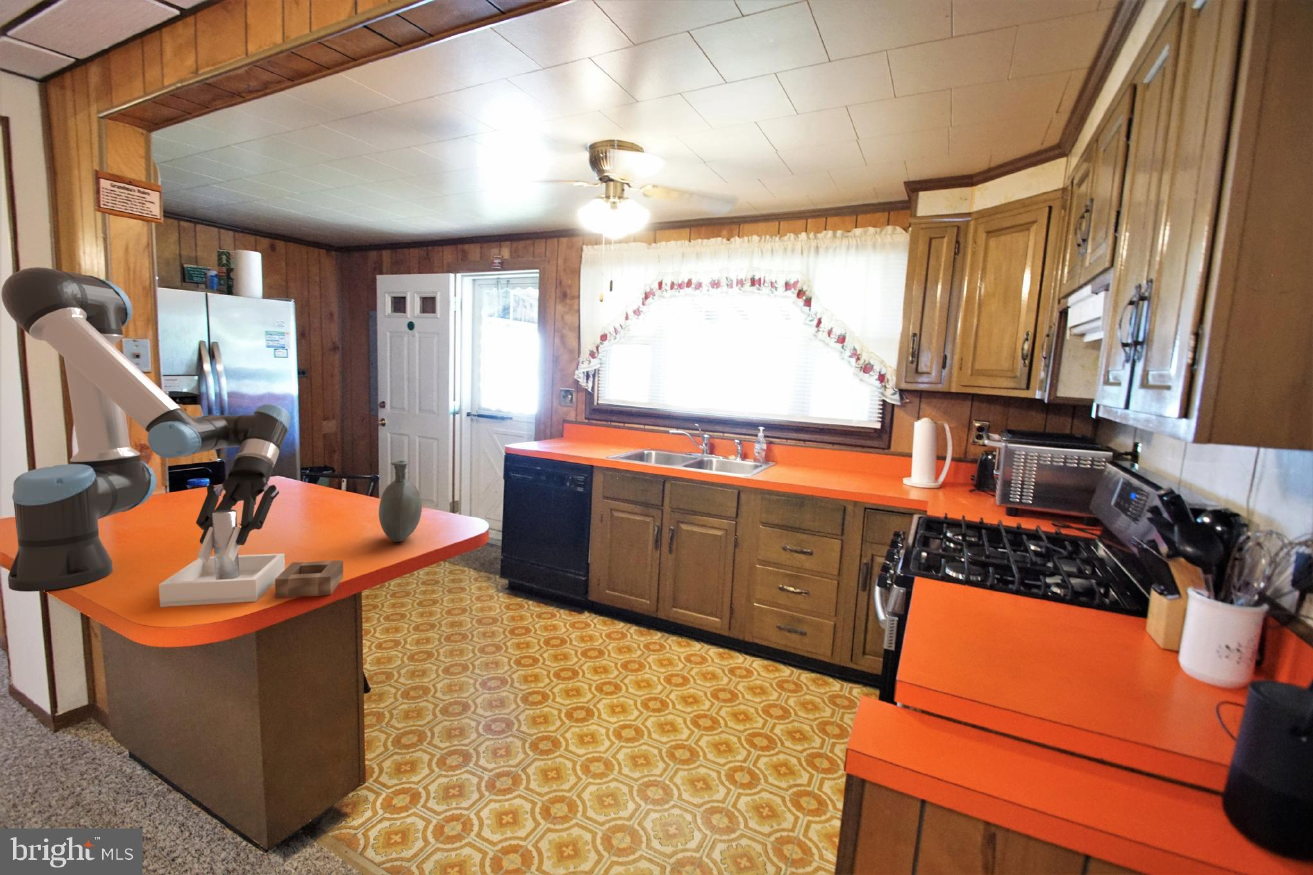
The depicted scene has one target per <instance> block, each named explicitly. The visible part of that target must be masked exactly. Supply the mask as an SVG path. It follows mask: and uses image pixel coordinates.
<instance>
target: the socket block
mask: <svg viewBox="0 0 1313 875" xmlns="http://www.w3.org/2000/svg"><path fill="white" fill-rule="evenodd" d="M343 578H344V560H317V561H315V560H314V561H298V562H297V561H296V562H295V561H294V562H291V563H290V564H289V565H287V567H285V570H284V571H283V572H282V573H281V574H280V575H279V576H278V577H277V578H276V579H275V583H274V586H275V587H274V589H275V591H274V592H275V599H284V598H285V599H286V598H303V597H318V596H319V597H321V596H331V595H332V594H333V593H334V591H335V590H336V589H337V587H338V585H340V582H342V580H343Z"/></svg>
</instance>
